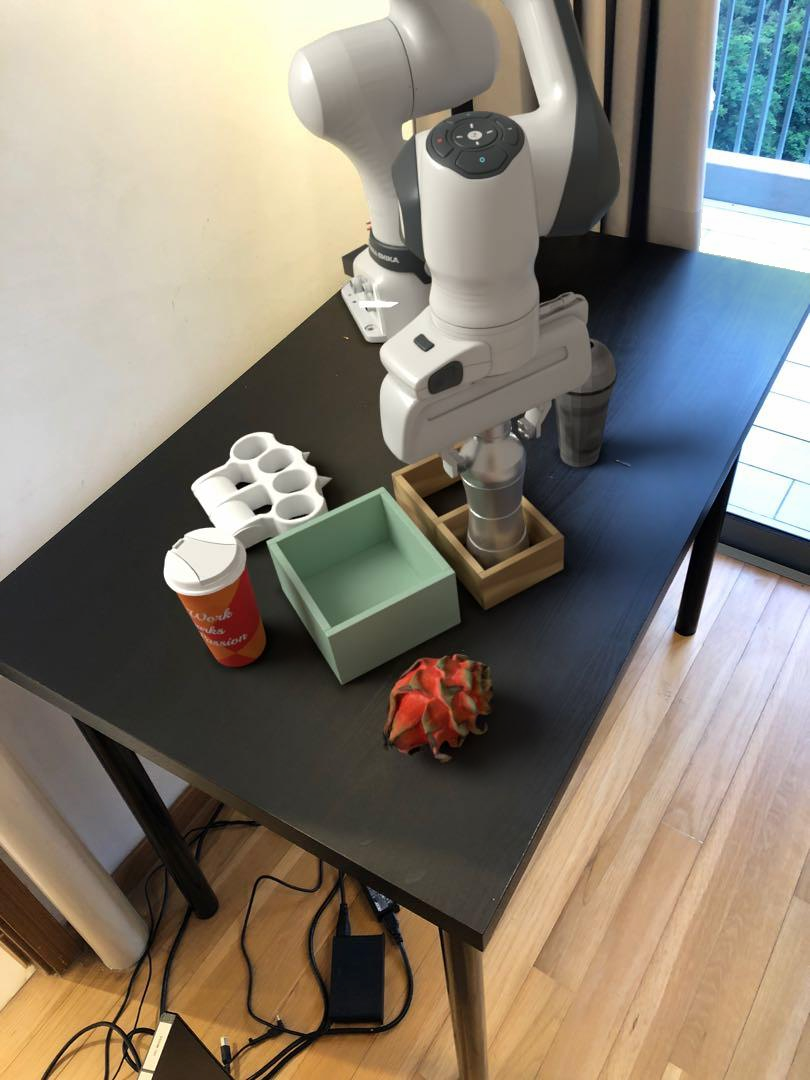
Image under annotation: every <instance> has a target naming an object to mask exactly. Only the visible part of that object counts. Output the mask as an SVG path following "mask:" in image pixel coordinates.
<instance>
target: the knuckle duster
mask: <svg viewBox="0 0 810 1080" xmlns="http://www.w3.org/2000/svg"><path fill="white" fill-rule="evenodd" d="M310 453H311V451H305V452H304V451H301V450H299V449H298V448H297V447H295V446H293V445H286V444H283V443H280V442H279V441H278V440H277V439H276V437H275V435H274V434H273V433H270V432H266V431H257V432H252V433H249V434H246V435H244V436H242V437H240V438H238V440H236V441H235V442H234V444H233V445H232V446H231V448H230V451H229V459H228V460H227V461H226V462H225V464H223V465H221V466H219V467H216V468H215V469H212V470H210V471H209V472H207V473H205V474H203V475H201V476H200V477H199V478H197V479H196V480H195V481H194V482H193V483H192V485H191V487H190V488H191V491H192V494H193V496H194V497H195V498H196V499H197V501H198V502H199V504H200V506H201V507H202V509H203V510H204V512H205V513H206V515H207V516H208V519H209V520H210V522H211V523H212V524H213V526H214V528H218V529H222V530H225V531H227V532H229V533H230V534H232V535H233V536H234V537H235V538H237V539H238V540H239V541H240V542H241V543H242V544H243V546H244V548H245V550H246V549H248V548H250V547H253V546H254V545H256V544H258V543H260V542H262V541H264V540H266V539H268V538H269V539H270V538H274V537H276V536H278V535H281V534H283V533H285V532H287V531H289V530H291V529H293V528H296V527H298V526H300V525H302V524H304V523H306V522H308V521H311V520H313V519H315V518H317V517H319V516H321V515H323V514H325V513H328V512H329V509H328V505H327V502H326V498H325V497H324V493H323V488H324V487H325V486H327V484H328V483H329V482H331V481H332V479H333V477H328V476H322V475H319V474H318V472H317V468H316V467H315V466H313V465H311V464H309V463H307V460H308V457H309V456H310ZM239 483H246V484H247V483H248V485H246V486H244V487H242V488H240V489H237V487H236V485H238V484H239ZM266 505H267V506H268V505H270V506H271V510H270V511H268V512H266V513H259V514H256V513H255V512H254V511H255V510H257V509H260V508H261V507H264V506H266ZM304 515H305V516H304ZM300 516H302V517H300ZM295 517H299V518H295ZM293 518H295V519H293Z"/></svg>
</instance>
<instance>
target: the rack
mask: <svg viewBox="0 0 810 1080" xmlns="http://www.w3.org/2000/svg"><path fill="white" fill-rule="evenodd" d="M465 441H466V440H464V441H462V442H460V443H458V444H455V445H454V450H455V449H456V450H457V451H458V452H460V449H461V447H462V445H463V444H464V442H465ZM391 479H392V480H391V481H392V484H393V491H394V496H395V501H396V502H397V503H398V505H399V506H400V507H401V508H402V509H403V511H404V512H405V513H406V514H407V515H408V517H409V518H410V519H411V520H412V521H413V523H414V524H415V525H416V526H417V527H418V529H419V530H420V531H421V532H422V533H423V535H424V536H425V537H426V538H427V539H428V540H429V542H430V543H431V544H432V545H433V546H434V548H435V549H436V550H437V551H438V552H439V554H440V555H441V556H442V557H443V558H444V560H445V561H446V562H447V563H448V564H449V566H450V567H451V568H452V569H453V571H454V572H455V576H456V577H457V578H456V579H458V581H460V583H461V584H462V585H463V586H464V587H465V588H466V590H467V591H468V592H469V593H470V595H471V596H472V597H473V598H474V599H475V601H476V602H477V603H478V604H479V605H480V606H481V607H482V609H483V610H484V611H486V610H489V609H490V608H492V607H494V606H496V605H498V604H500V603H501V602H504V601H506V600H507V599H509V598H511V597H514V596H515V595H516V594H519V593H521V592H523V591H524V590H526V589H528V588H530V587H532V586H534V585H536V584H538V583H540V582H541V581H544V580H546V579H547V578H549V577H551V576H553V575H554V574H557V573H558V572H560V571H562V570H564V559H565V558H564V557H565V556H564V555H565V554H564V553H565V536H564V535H563V534H562V533H561V532H560V531H559V530H558V529H557V528H556V527H555V526H554V525H553V523H551V522H550V521H549V520H548V519H547V518H546V517H545V516H544V515H543V514H542V513H541V512H540V511H539V510H538V509H537V508H536V507H535V506H534V505H533V504H532V503H531V502H530V501H529V500H528V499H527V498H526V496H524V495H523V494H522V510H523V516H524V522H525V525H526V528H527V531H528V535H529V541H530V545H531V547H530V546H529V548H528V549H527V550H525V551H523V552H521V553H519V554H517V555H515V556H513V557H511V558H509V559H507V560H505V561H503V562H501V563H499V564H497V565H495V566H494V567H492V568H490V569H488V570H486V571H484V569H483V568H482V567H481V566H480V565H479V564H478V563H477V561H476V560H475V559H474V558H473V557H472V556H471V555H470V553H469V552H468V551H467V549H466V547H465V546H464V545H466V542H467V533H468V528H469V508H468V502H467V503H465V504H464V505H461V506H459V507H457V508H455V509H453V510H451V511H449V512H447V513H444V514H443V515H441V516H438V515H436V513H435V512H434V511H433V510H432V508H430V506H429V505H428V504H427V503H426V502H425V501H424V498H426V497H429V496H430V495H432V494H435V493H436V492H438V491H441V490H443V489H444V488H446V487H449V486H451V485H453V484H455V483H457V482H460V481H462V478H461V475H458V476H456V477H454V478H451V477H450V476H449V475H448V473H447V472H446V471H445V469H444V467H443V459H442V458H441V457H440V456H439V455H438V454H437V453H436V454H434V455H432V456H430V457H427V458H425V459H423V460H421V461H419V462H417V463H415V464H412V465H409V464H408V465H406V466H404V467H402V468H400V469H397V470H396V471H393V472H392V473H391Z"/></svg>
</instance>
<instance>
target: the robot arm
mask: <svg viewBox="0 0 810 1080" xmlns="http://www.w3.org/2000/svg"><path fill="white" fill-rule="evenodd" d="M499 1H500V2H501V3H502V4H503V5H504V6H505V8H507V10H508V12H509V13H510V15H511V17H512V19H513V21H514V24H515V27H516V30H517V35H518V37H519V41H520V44H521V48H522V51H523V54H524V57H525V60H526V64H527V67H528V68H527V69H528V72H529V74H530V75H529V76H530V78H531V81H532V85H533V87H534V91H535V94H536V98H537V103H538V106H539V107H538V108H537V109H535V110H534V111H531V112H526V113H520V114H514V115H507V116H506V115H505V114H501V113H498V112H495V111H494V112H493V111H487V110H472V111H465V112H460V113H456V114H454V115H451V116H449V117H446V118H444V119H442V120H441V121H440V122H438V123H436V124H435V125H434V126H433V127H432V128H429V129H428V128H427V129H425V130H422V131H420V132H417V133H416V134H415V133H413V135H411V136H410V138H409V139H408V140H406V139H404V137H403V125H404V124H405V123H408V122H409V121H412V120H416V119H420V118H422V117H426V116H430V115H434V114H437V113H440V112H444V111H449V110H452V109H454V108H455V109H456V108H458V107H460V106H462V105H464V104H465V103H467V102H469V101H471V100H472V99H475V98H476V97H478V96H480V95H482V94H483V93H485V92H487V91H488V90H489V89H490V88H491V87H492V86H493V83H494V82H495V79H496V76H497V74H498V70H499V67H500V61H501V60H500V59H501V48H500V47H501V46H500V40H499V36H498V33H497V30H496V28H495V25H494V23H493V22H492V20H491V19H490V17H489V15H488V14H487V13H486V12H485V11H484V10H483V9H482V8H481V7H480V6H479V5H477V4H475V3H474V2H473V1H470V0H388V4H389V12H388V13H389V14H388V15H387V16H385V17H383V18H381V19H378V20H374V21H370V22H369V21H368V22H366V23H362V24H358V25H354V26H350V27H346V28H342V29H338V30H335V31H331V32H329V33H327V34H325V35H323V36H321V37H319V38H317V39H315V40H312V42H310V43H308V44H305V45H304V46H302V47H301V48H299V49H297V50H296V51H295V53H294V55H293V57H292V60H291V62H290V66H289V69H288V75H287V90H288V97H289V101H290V104H291V108H292V110H293V111H294V114H295V115H296V117H297V119H298V121H299V122H300V123H301V124H302V125H303V127H304V128H305V129H306V130H307V131H308V132H309V133H311V134H312V135H314V136H315V137H317V138H319V139H321V140H323V141H325V142H327V143H329V144H331V145H333V146H334V147H336V148H337V149H338V150H340V152H342V153H343V154H344V155H345V156H346V157H347V158H348V160H349V161H350V162H351V164H352V165H353V167H354V168H355V170H356V171H357V174H358V176H359V178H360V180H361V183H362V187H363V191H364V194H365V199H366V204H367V209H368V212H369V220H370V221H368V222H366V223H365V225H370V226H368V227H367V228H366V230H367V231H369V235H368V236H369V237H368V240H367V243H364V244H363V245H361V246H359V247H357V248H354V249H353V250H352V251H350V252H348V253H346V254H345V255H342V256H341V262H342V267H343V274H344V275H346V276H348V277H350V278H349V281H348V282H347V283H346V284H344V286H343V287H342V288H341V289H340V290H341V297H342V299H343V301H344V303H345V305H346V307H347V308H348V310H349V312H350V314H351V316H352V317H353V319H354V321H355V323H356V325H357V327H358V328H359V331H360V332H361V334H362V336H363V338H364V340H365V341H366V342H368V343H373V344H374V343H375V344H377V343H378V344H379V343H383V345H382V346H381V347H380V349H379V358H380V362H381V364H382V365H383V367H384V369H385V370H386V371H387V372H388V373H387V374H386V375H385V376H384V378H383V380H382V383H381V385H380V390H379V411H380V424H381V431H382V437H383V440H384V443H385V445H386V446H387V448H388V449H389V450H390V451H391V453H392V455H394V456H395V457H396V458H397V459H398V460H399V461H401V462H403V463H405V464H406V465H408V466H409V465H412V464H415V463H417V462H419V461H421V460H423V459H425V458H427V457H430V456H432V455H434V454H436V453H437V454H438V455H439V456H440V457H441V458H442V459H443V467H444V469H445V471H446V472H447V473H448V475H449V476H450V477H451V478H454V477H456V476H458V475H460V474H462V473H464V472H466V468H465V466H466V460H465V458H464V457H463V456H461V455H459V452H458V451H457V450H456V449H455V450H454V445H455V444H458V443H460V442H462V441H464V440H466V439H468V438H470V437H473V436H475V435H477V434H479V433H481V432H483V431H486V430H488V429H490V428H492V427H494V426H496V425H498V424H501V423H503V422H505V421H507V420H509V419H510V420H511V419H513V418H516V417H517V416H521V415H522V414H524V413H525V414H524V417H521V418H520V419H517V427H518V428H517V433H518V436H519V438H520V439H523V440H524V442H525V443H529V442H531V441H534V440H536V439H538V438H540V437H541V436H542V424H543V422H544V420H545V419H546V417H547V415H548V413H549V411H550V410H551V408H552V400H555V398H556V397H559V396H561V395H563V394H565V393H567V392H569V391H572V390H574V389H576V388H578V387H580V386H582V385H584V384H585V382H586V381H587V379H588V377H589V375H590V374H591V349H590V341H589V338H590V335H589V331H588V328H587V327H588V326H587V324H588V321H589V303H588V300H587V299H586V298H585V296H583V295H582V294H578V293H574V292H572V291H569V292H565V293H562V294H560V295H558V296H557V297H556V298H554V299H551V300H547V301H544V302H541V303H540V287H539V282H538V280H537V277H536V274H535V262H536V258H537V256H538V252H539V247H540V237H544V238H557V237H569V236H582V235H586V234H587V233H588V232H589V231H591V230H592V229H594V227H596V225H597V224H598V223H599V222H600V221H601V220H602V219H603V218H604V217H605V215H606V214H607V213H608V212H609V210H610V209H611V207H612V206H613V204H614V203H615V201H616V200H617V198H618V196H619V192H620V186H621V163H620V156H619V151H618V148H617V144H616V140H615V137H614V134H613V131H612V127H611V125H610V123H609V120H608V117H607V114H606V112H605V110H604V107H603V104H602V102H601V100H600V98H599V97H600V96H599V94H598V92H597V89H596V87H595V84H594V81H593V76H592V73H591V70H590V66H589V63H588V60H587V57H586V56H587V55H586V52H585V49H584V46H583V41H582V38H581V33H580V31H579V27H578V23H577V21H576V20H577V19H576V17H575V14H574V13H575V12H574V10H573V6H572V4H571V0H499Z"/></svg>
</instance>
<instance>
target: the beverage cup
mask: <svg viewBox="0 0 810 1080" xmlns="http://www.w3.org/2000/svg"><path fill="white" fill-rule="evenodd" d="M589 341H590V349H591V374H590V375H589V377H588V379H587V381H586V382H585V384H584V385H582V386H580V387H578V388H576V389H574V390H572V391H569V392H567V393H565V394H563V395H561V396H559V397H556V398H554V409H555V418H556V428H557V441H558V448H559V454H560V459H561V460H562V462H563V463H564V464H566V465H567V466H570V467H573V468H586V467H589V466H591V465H594V464H595V463H596V462H597V461H598V460H599V457H600V452H601V448H602V444H603V439H604V434H605V433H604V432H605V427H606V421H607V416H608V411H609V405H610V399H611V396H612V393H613V389H614V388H615V387H614V386H615V384H616V382H617V378H618V374H617V369H616V362H615V359H614V356H613V354H612V352H611V351H610V350H609V348H608V347H607V346H606V345H605V344H604V343H603V342H601V341H599V340H597V339H595V338H591V337H589Z"/></svg>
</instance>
